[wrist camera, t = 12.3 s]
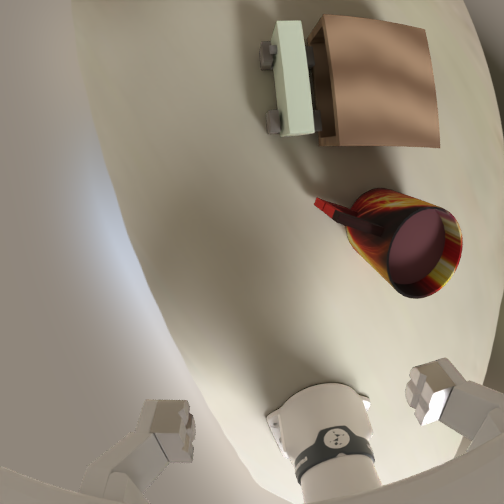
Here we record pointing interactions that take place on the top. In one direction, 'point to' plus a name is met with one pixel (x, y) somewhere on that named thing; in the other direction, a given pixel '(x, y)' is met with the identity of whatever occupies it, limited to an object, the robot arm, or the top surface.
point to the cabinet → (368, 84)
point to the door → (291, 79)
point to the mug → (402, 239)
